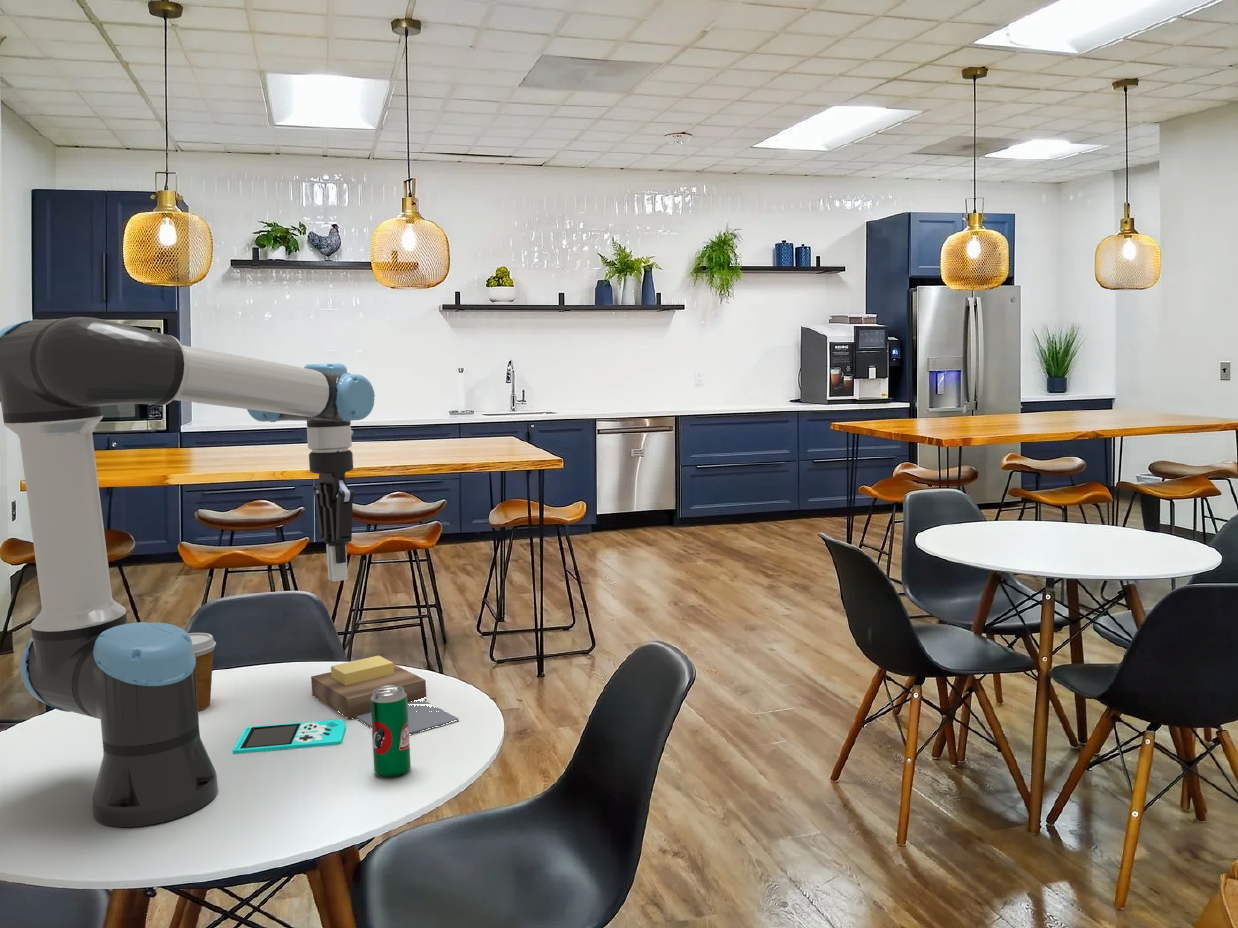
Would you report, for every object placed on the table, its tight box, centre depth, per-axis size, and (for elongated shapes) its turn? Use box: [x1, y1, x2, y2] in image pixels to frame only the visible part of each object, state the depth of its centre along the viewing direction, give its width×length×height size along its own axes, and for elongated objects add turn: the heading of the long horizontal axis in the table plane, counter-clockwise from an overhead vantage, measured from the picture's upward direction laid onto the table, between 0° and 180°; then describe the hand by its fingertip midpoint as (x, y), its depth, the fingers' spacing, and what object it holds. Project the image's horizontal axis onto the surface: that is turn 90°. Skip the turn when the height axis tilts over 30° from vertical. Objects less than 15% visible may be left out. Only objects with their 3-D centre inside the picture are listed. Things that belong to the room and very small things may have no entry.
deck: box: [310, 664, 427, 720], centre depth 168 cm, size 16×14×4 cm
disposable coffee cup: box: [187, 632, 217, 712], centre depth 166 cm, size 10×10×12 cm
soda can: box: [370, 685, 412, 779], centre depth 136 cm, size 5×5×12 cm
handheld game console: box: [232, 718, 347, 755], centre depth 151 cm, size 10×16×1 cm, turn 100°
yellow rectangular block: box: [330, 655, 395, 685], centre depth 170 cm, size 6×9×2 cm, turn 129°
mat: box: [355, 700, 460, 735], centre depth 157 cm, size 13×12×1 cm
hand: (338, 579), depth 175 cm, fingers closed
